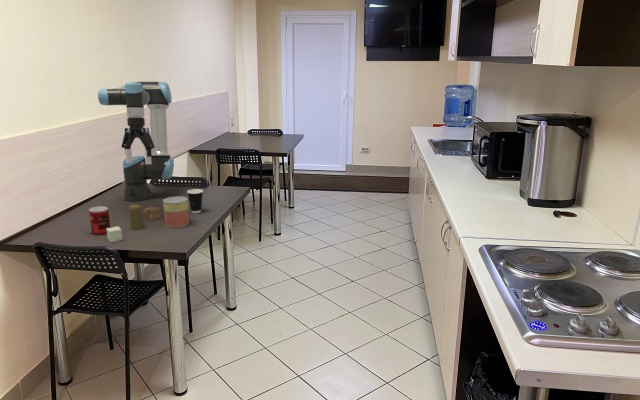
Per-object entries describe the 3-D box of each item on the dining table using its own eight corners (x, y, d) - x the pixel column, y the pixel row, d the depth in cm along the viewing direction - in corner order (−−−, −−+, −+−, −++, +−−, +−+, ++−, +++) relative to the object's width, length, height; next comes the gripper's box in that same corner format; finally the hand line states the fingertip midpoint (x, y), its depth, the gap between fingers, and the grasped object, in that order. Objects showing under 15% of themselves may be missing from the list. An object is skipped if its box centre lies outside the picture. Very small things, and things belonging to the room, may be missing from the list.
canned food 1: (96, 228, 220) (93, 206, 216) (113, 229, 219) (111, 206, 216) (88, 234, 212) (85, 211, 209) (106, 234, 212) (103, 211, 209)
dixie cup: (189, 214, 241) (187, 193, 238) (187, 210, 248) (186, 189, 245) (205, 213, 244) (203, 192, 241) (203, 208, 251) (202, 188, 248)
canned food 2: (193, 221, 232) (191, 197, 228) (182, 228, 221) (180, 203, 218) (172, 219, 234) (170, 195, 231) (160, 226, 223) (157, 202, 220)
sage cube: (107, 239, 207) (106, 228, 206) (119, 237, 210) (118, 226, 209) (110, 242, 203) (109, 231, 202) (122, 240, 206) (121, 229, 205)
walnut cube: (145, 218, 234) (144, 209, 233) (153, 216, 239) (152, 206, 237) (152, 220, 232) (151, 210, 231) (160, 217, 236) (159, 208, 235)
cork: (127, 228, 220) (124, 206, 217) (136, 224, 225) (134, 202, 222) (137, 230, 218) (135, 207, 215) (146, 226, 223) (144, 204, 220)
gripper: (111, 117, 222) (114, 163, 226) (147, 116, 210) (150, 164, 213) (125, 117, 229) (128, 162, 232) (160, 116, 216) (163, 163, 219)
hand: (138, 163), depth 222 cm, fingers open, 13 cm apart
